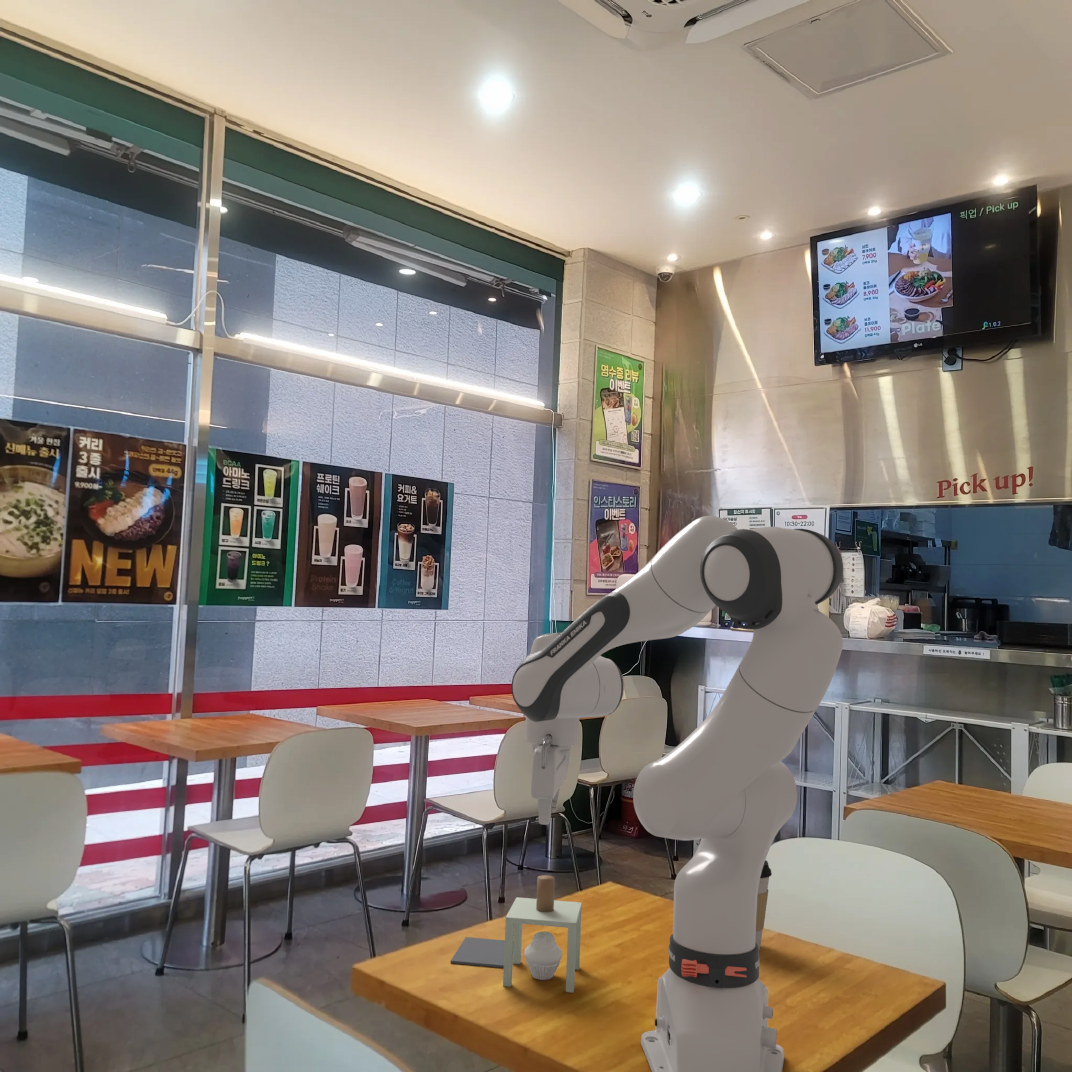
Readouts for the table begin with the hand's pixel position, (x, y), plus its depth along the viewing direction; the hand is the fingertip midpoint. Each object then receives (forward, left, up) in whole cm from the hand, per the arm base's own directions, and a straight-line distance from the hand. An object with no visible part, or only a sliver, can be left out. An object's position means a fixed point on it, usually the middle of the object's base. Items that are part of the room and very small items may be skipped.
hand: (548, 817), depth 150 cm
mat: (+8, +11, -25) cm, 28 cm away
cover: (0, 0, -25) cm, 25 cm away
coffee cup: (+23, -34, -25) cm, 48 cm away
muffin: (0, 0, -25) cm, 25 cm away
